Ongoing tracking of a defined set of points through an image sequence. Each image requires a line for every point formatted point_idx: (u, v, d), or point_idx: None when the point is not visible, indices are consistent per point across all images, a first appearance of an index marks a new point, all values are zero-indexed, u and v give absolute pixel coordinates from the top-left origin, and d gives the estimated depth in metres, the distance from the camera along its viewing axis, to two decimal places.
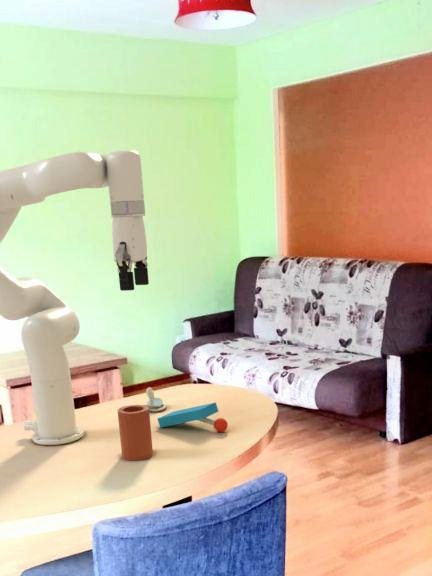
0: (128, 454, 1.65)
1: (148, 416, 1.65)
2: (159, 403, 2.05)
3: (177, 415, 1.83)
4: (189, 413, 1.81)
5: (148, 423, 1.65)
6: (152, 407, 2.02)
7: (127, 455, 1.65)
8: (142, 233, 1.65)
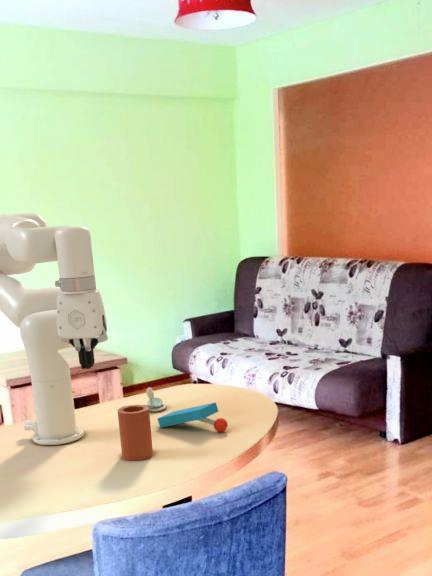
0: (128, 454, 1.65)
1: (148, 416, 1.65)
2: (159, 403, 2.05)
3: (177, 415, 1.83)
4: (189, 413, 1.81)
5: (148, 423, 1.65)
6: (152, 407, 2.02)
7: (127, 455, 1.65)
8: None
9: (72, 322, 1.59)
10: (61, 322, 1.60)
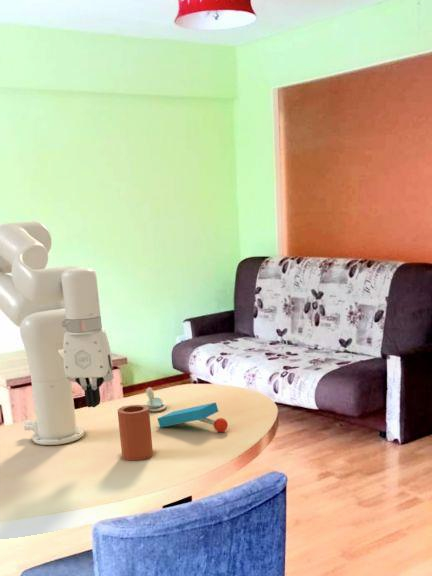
0: (128, 454, 1.65)
1: (148, 416, 1.65)
2: (159, 403, 2.05)
3: (177, 415, 1.83)
4: (189, 413, 1.81)
5: (148, 423, 1.65)
6: (152, 407, 2.02)
7: (127, 455, 1.65)
8: None
9: (78, 362, 1.62)
10: (68, 362, 1.62)
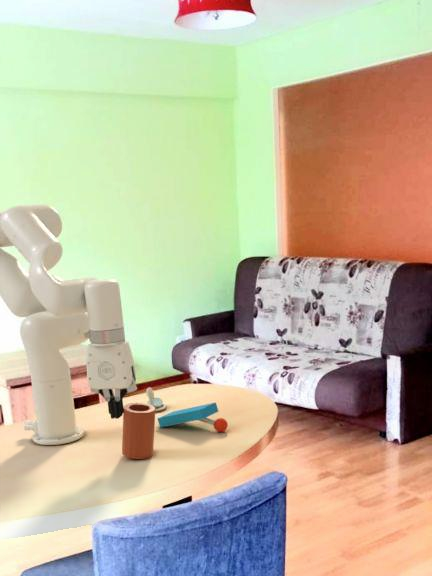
0: (129, 452, 1.65)
1: (153, 417, 1.64)
2: (159, 403, 2.05)
3: (177, 415, 1.83)
4: (189, 413, 1.81)
5: (153, 424, 1.64)
6: None
7: (128, 452, 1.65)
8: None
9: (102, 373, 1.61)
10: (91, 373, 1.62)
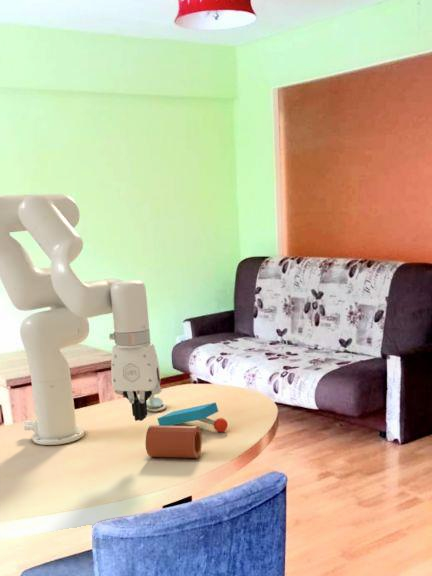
0: (151, 442, 1.63)
1: None
2: (159, 403, 2.05)
3: (177, 415, 1.83)
4: (189, 413, 1.81)
5: None
6: (152, 407, 2.02)
7: (150, 441, 1.63)
8: None
9: (127, 375, 1.60)
10: (116, 375, 1.61)
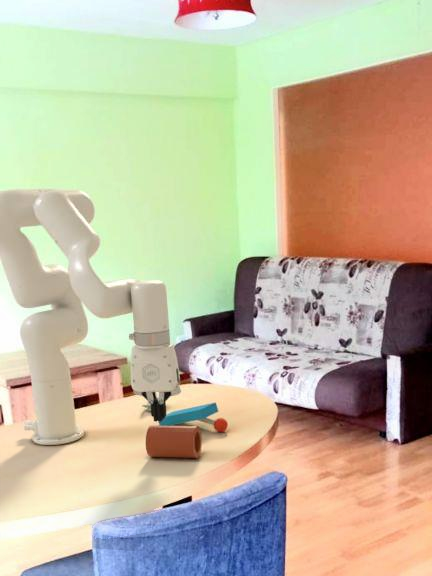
0: (151, 442, 1.63)
1: None
2: None
3: (177, 415, 1.83)
4: (189, 413, 1.81)
5: None
6: None
7: (150, 441, 1.63)
8: None
9: (146, 376, 1.59)
10: (135, 376, 1.60)
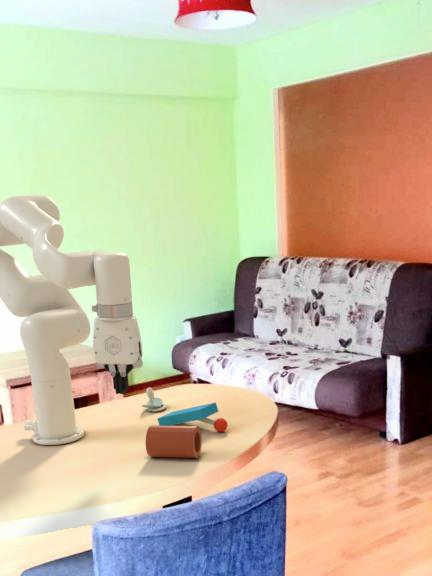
0: (151, 442, 1.63)
1: None
2: (159, 403, 2.05)
3: (177, 415, 1.83)
4: (189, 413, 1.81)
5: None
6: (152, 407, 2.02)
7: (150, 441, 1.63)
8: None
9: (108, 348, 1.59)
10: (97, 347, 1.60)
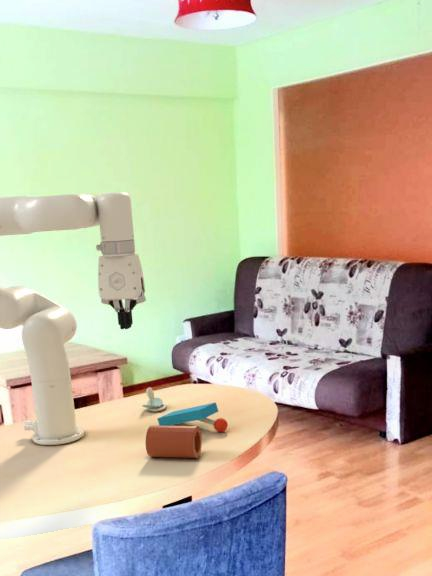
0: (151, 442, 1.63)
1: None
2: (159, 403, 2.05)
3: (177, 415, 1.83)
4: (189, 413, 1.81)
5: None
6: (152, 407, 2.02)
7: (150, 441, 1.63)
8: None
9: (113, 284, 1.68)
10: (102, 284, 1.69)
